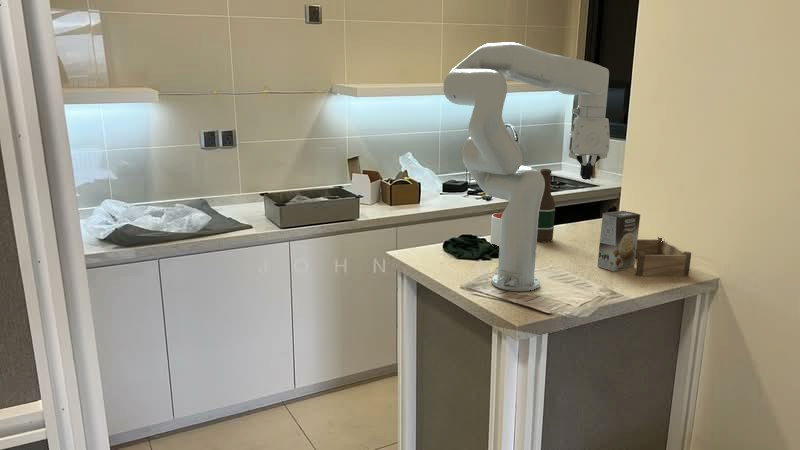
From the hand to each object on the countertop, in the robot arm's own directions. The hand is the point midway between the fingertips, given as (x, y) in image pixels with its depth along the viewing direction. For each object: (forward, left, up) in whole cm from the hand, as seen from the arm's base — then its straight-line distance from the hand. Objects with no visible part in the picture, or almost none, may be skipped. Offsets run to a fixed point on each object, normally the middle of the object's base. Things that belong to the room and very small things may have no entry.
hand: (585, 178), depth 178 cm
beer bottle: (+25, +18, -26) cm, 41 cm away
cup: (+12, +26, -26) cm, 38 cm away
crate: (+10, -18, -26) cm, 34 cm away
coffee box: (+5, -10, -26) cm, 29 cm away
